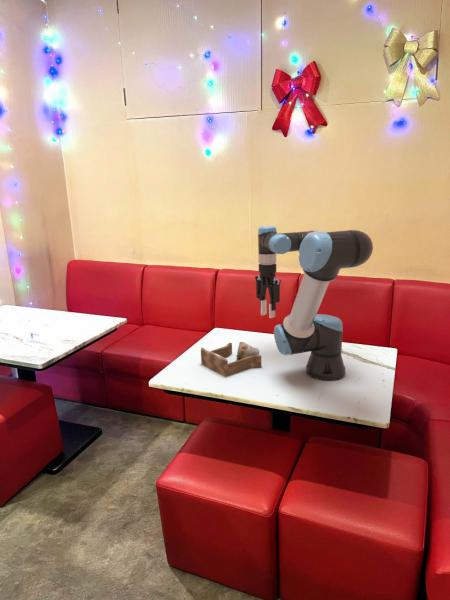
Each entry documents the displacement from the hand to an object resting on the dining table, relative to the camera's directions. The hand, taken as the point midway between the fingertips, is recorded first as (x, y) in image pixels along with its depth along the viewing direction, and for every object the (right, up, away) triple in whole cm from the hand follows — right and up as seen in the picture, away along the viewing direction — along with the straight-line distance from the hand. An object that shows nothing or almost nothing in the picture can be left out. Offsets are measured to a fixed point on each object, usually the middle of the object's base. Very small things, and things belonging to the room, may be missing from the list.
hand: (267, 315), depth 186 cm
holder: (-17, -20, -8) cm, 28 cm away
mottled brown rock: (-6, -19, -1) cm, 20 cm away
